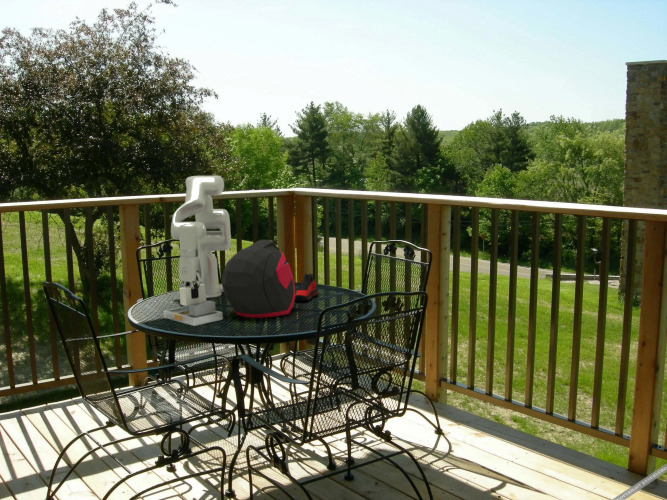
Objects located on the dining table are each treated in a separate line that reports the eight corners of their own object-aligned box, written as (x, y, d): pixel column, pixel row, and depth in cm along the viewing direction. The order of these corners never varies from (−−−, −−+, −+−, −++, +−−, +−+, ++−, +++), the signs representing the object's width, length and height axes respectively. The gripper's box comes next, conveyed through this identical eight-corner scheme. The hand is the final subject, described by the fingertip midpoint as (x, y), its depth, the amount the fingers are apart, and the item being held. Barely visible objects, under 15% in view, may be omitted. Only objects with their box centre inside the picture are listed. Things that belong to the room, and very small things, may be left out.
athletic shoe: (289, 303, 297) (289, 277, 296) (305, 294, 317) (304, 270, 315) (305, 303, 295) (304, 278, 293) (320, 295, 314) (319, 270, 313)
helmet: (311, 287, 288) (292, 230, 273) (275, 333, 266) (252, 274, 251) (263, 282, 302) (243, 228, 287) (225, 326, 280) (201, 269, 265)
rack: (163, 317, 272) (162, 300, 271) (191, 311, 282) (190, 294, 281) (193, 326, 257) (193, 307, 256) (222, 319, 268) (221, 301, 267)
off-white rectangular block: (180, 304, 267) (179, 287, 266) (200, 299, 274) (199, 283, 273) (186, 305, 264) (184, 289, 263) (206, 300, 272) (204, 284, 270)
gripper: (170, 253, 269) (172, 296, 271) (194, 256, 258) (196, 301, 260) (185, 251, 275) (187, 293, 277) (209, 254, 263) (211, 298, 266)
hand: (191, 297), depth 268 cm, fingers closed on off-white rectangular block, 4 cm apart
